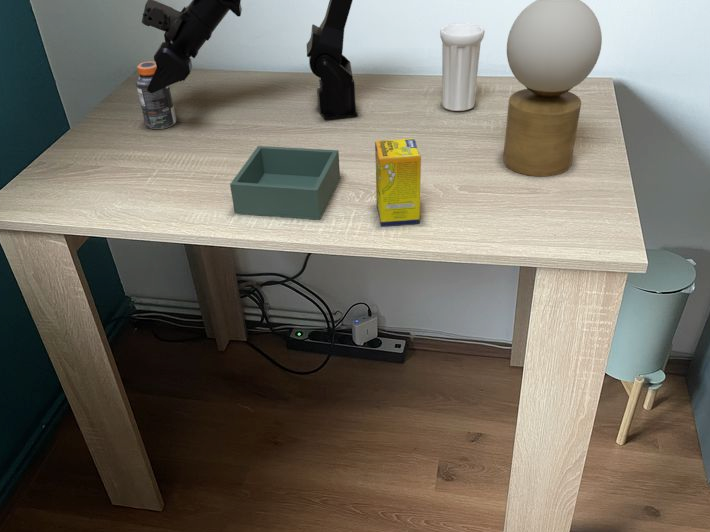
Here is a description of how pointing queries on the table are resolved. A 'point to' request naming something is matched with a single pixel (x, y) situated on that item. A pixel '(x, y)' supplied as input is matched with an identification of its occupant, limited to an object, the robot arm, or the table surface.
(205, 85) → the table surface
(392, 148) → the supplement box
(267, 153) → the green square tray
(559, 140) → the lamp
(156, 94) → the pill bottle
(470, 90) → the cup
